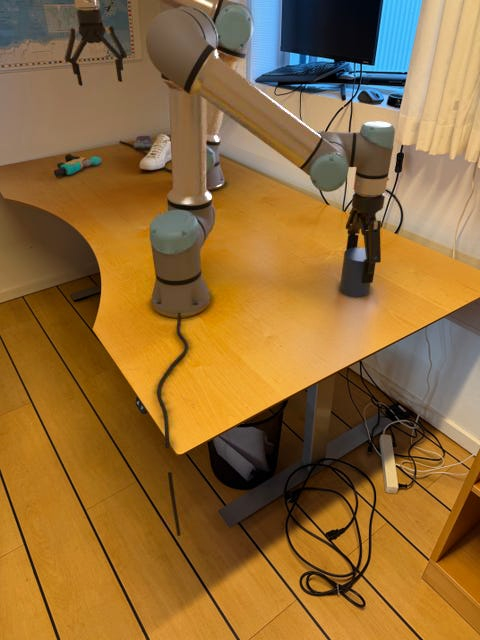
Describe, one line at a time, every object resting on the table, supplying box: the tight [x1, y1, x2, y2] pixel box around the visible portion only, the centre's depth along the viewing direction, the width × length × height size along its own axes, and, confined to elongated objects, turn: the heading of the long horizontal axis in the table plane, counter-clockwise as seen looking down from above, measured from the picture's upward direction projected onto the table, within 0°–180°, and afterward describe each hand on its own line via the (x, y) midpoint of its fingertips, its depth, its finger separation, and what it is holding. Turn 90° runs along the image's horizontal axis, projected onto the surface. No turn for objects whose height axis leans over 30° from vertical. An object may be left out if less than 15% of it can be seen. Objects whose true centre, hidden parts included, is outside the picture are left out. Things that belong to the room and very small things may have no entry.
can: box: [339, 246, 371, 298], centre depth 127 cm, size 8×8×11 cm
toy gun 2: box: [132, 135, 155, 151], centre depth 238 cm, size 4×19×15 cm
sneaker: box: [139, 133, 172, 171], centre depth 214 cm, size 10×29×12 cm, turn 163°
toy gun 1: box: [53, 153, 102, 178], centre depth 211 cm, size 4×26×15 cm
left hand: (358, 269), depth 126 cm, fingers open, 13 cm apart
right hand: (100, 83), depth 162 cm, fingers open, 13 cm apart
